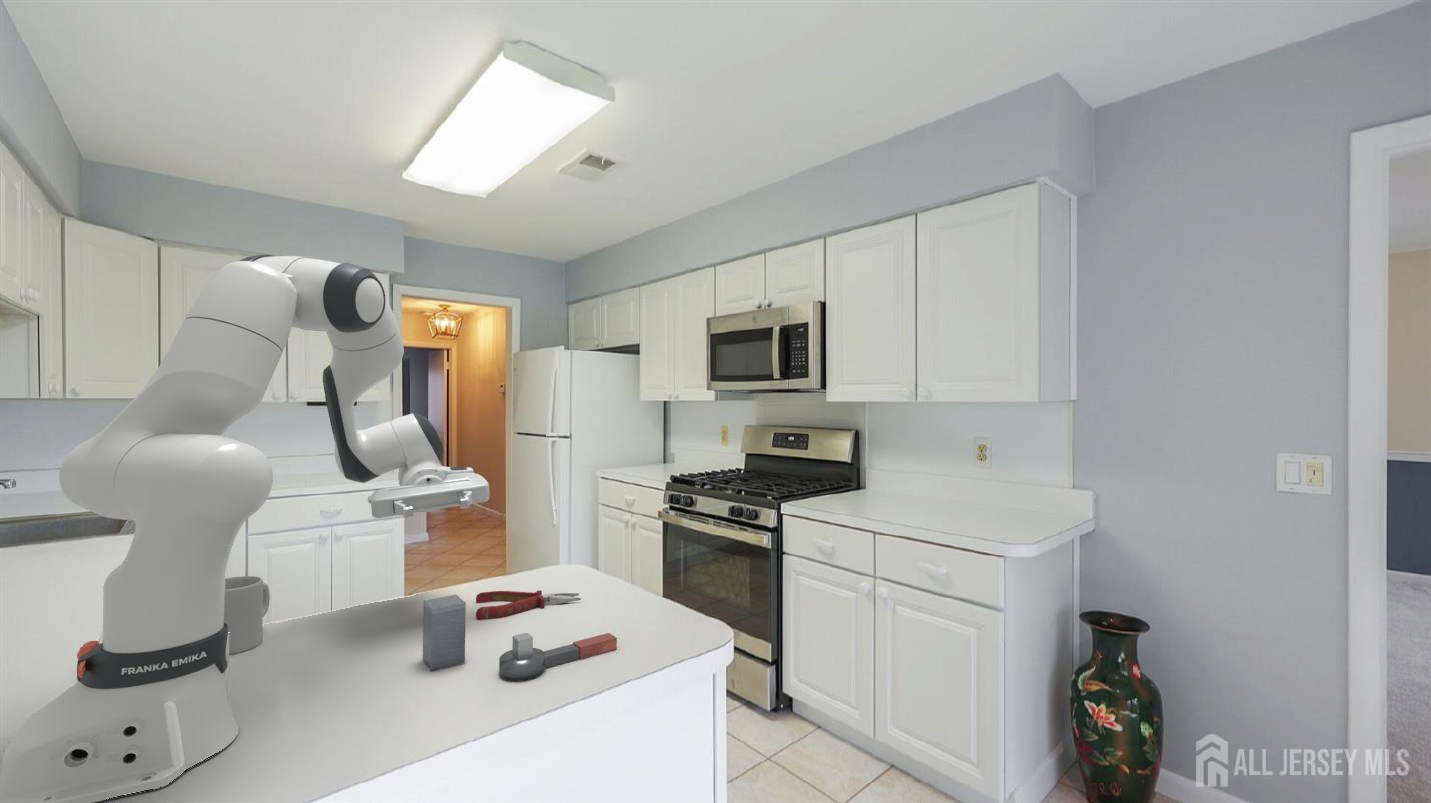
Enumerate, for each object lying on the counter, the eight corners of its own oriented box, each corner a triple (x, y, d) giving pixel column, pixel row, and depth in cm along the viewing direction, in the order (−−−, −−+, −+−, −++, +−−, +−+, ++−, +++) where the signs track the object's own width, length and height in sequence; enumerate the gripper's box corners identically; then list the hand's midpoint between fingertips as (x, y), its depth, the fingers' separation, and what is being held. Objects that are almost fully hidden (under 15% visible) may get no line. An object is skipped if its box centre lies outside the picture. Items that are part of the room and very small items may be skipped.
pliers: (584, 611, 127) (584, 598, 127) (475, 623, 119) (475, 609, 119) (575, 594, 138) (575, 582, 138) (475, 603, 131) (475, 591, 131)
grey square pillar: (431, 671, 97) (432, 609, 97) (422, 660, 101) (423, 600, 101) (464, 663, 101) (465, 602, 101) (455, 652, 105) (456, 594, 105)
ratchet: (508, 685, 93) (509, 649, 93) (492, 669, 99) (493, 634, 99) (622, 653, 106) (623, 620, 106) (603, 640, 111) (603, 609, 111)
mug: (235, 657, 101) (236, 591, 101) (185, 655, 101) (186, 589, 101) (288, 630, 113) (289, 570, 113) (244, 628, 113) (245, 569, 113)
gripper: (365, 480, 115) (369, 500, 103) (480, 466, 126) (495, 483, 114) (368, 512, 116) (372, 536, 104) (481, 495, 127) (496, 515, 115)
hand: (437, 508), depth 109 cm, fingers open, 8 cm apart
